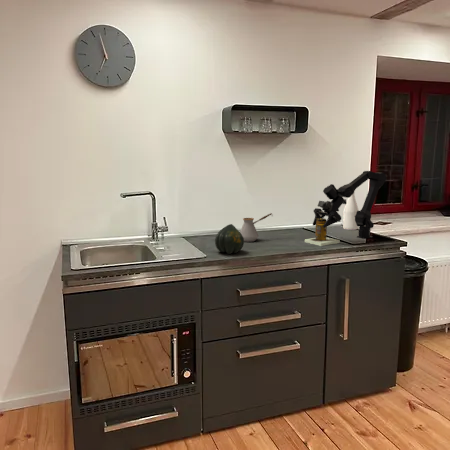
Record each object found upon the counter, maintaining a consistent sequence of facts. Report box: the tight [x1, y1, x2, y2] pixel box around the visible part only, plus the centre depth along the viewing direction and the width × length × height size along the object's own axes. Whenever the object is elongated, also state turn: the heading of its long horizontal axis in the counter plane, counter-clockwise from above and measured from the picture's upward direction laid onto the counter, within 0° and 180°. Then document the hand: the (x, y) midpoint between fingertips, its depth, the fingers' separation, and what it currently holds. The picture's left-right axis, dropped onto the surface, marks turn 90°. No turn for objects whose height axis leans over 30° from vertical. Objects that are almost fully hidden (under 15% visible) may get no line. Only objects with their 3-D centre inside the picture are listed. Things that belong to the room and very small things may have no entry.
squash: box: [214, 223, 245, 255], centre depth 225 cm, size 14×15×15 cm
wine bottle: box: [342, 192, 360, 231], centre depth 284 cm, size 10×10×30 cm
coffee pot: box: [239, 212, 274, 243], centre depth 255 cm, size 21×12×15 cm, turn 112°
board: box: [304, 237, 341, 247], centre depth 245 cm, size 14×13×2 cm
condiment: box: [308, 217, 328, 242], centre depth 243 cm, size 7×8×12 cm
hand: (318, 226), depth 242 cm, fingers open, 9 cm apart
